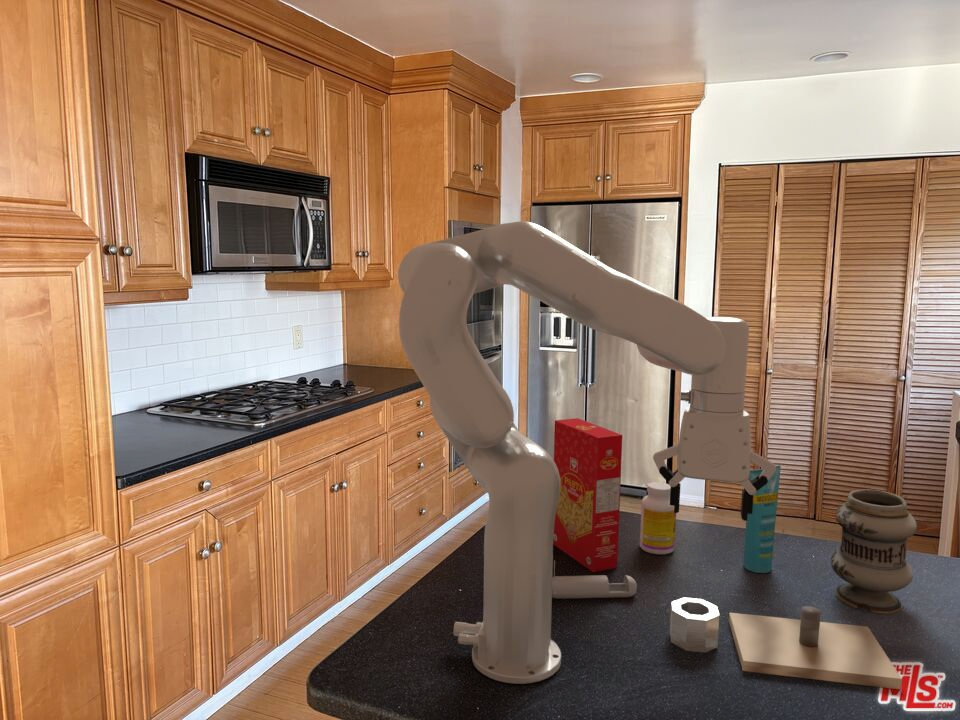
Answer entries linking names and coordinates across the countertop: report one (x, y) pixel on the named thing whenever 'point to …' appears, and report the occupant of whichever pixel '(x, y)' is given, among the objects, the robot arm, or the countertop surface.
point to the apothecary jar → (873, 550)
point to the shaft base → (812, 649)
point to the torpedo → (591, 587)
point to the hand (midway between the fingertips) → (709, 513)
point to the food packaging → (588, 492)
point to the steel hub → (694, 624)
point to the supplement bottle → (657, 520)
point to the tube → (761, 525)
